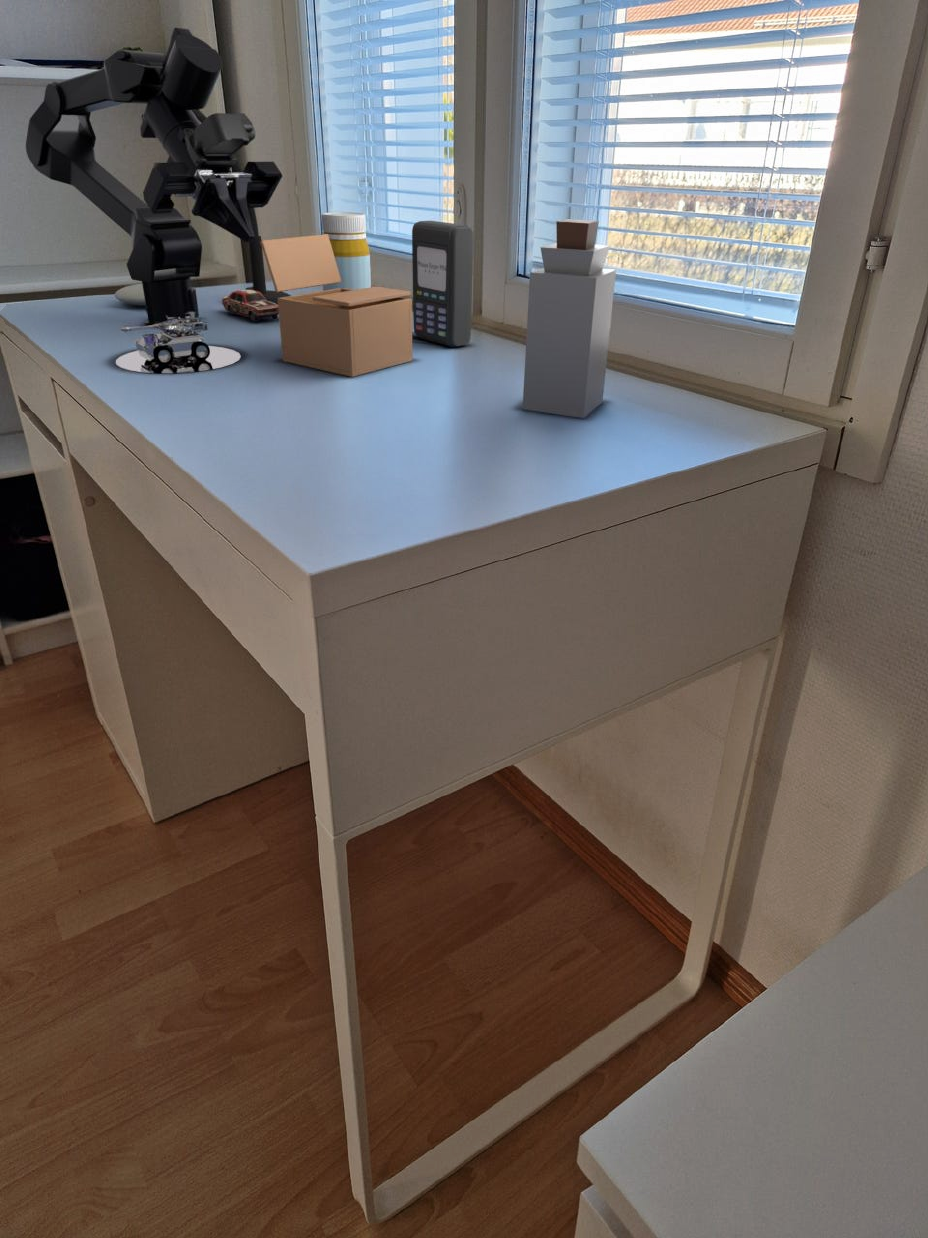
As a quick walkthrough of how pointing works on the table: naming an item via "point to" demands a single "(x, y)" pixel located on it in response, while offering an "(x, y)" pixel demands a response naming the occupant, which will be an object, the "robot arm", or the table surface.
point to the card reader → (442, 282)
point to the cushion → (131, 295)
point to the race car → (250, 305)
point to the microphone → (253, 246)
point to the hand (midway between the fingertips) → (251, 239)
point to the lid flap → (300, 262)
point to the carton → (347, 329)
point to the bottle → (348, 249)
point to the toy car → (175, 349)
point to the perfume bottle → (569, 323)
